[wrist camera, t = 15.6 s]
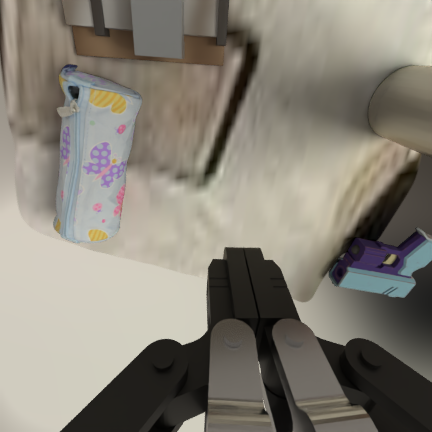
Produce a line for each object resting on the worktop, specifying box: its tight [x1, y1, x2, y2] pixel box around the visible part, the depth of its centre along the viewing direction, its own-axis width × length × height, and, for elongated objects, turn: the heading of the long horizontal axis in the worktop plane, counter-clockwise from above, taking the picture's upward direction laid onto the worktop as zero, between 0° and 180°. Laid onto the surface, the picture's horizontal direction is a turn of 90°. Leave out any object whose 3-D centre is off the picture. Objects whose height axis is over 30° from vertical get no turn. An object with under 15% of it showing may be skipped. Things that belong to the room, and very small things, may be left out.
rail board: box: [62, 0, 229, 66], centre depth 29 cm, size 17×9×3 cm, turn 86°
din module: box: [131, 0, 185, 59], centre depth 26 cm, size 4×9×6 cm, turn 176°
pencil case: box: [53, 64, 142, 243], centre depth 34 cm, size 21×9×10 cm, turn 162°
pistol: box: [329, 227, 432, 298], centre depth 49 cm, size 4×16×15 cm
